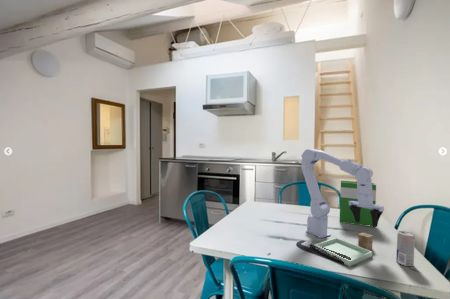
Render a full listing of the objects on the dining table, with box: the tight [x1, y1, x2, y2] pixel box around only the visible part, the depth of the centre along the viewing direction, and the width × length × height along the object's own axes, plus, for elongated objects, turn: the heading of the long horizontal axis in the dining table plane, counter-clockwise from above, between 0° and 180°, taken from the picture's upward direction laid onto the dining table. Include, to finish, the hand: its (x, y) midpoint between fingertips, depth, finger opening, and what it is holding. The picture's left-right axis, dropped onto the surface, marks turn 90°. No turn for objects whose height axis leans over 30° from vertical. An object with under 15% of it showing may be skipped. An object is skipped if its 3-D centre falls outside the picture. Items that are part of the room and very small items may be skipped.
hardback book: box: [339, 180, 377, 226], centre depth 135 cm, size 18×7×24 cm, turn 63°
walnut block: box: [357, 232, 374, 251], centre depth 102 cm, size 4×4×6 cm
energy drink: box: [396, 230, 416, 267], centre depth 89 cm, size 5×5×12 cm
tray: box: [313, 237, 373, 268], centre depth 97 cm, size 16×16×2 cm
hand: (366, 224), depth 101 cm, fingers open, 7 cm apart
